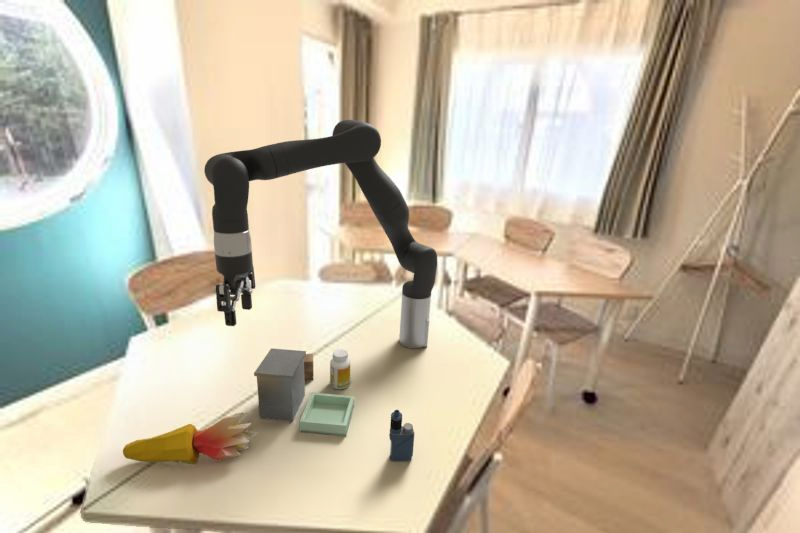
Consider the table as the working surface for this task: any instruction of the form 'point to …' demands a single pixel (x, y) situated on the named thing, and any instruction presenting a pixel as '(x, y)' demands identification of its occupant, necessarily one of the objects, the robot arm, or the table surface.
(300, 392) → the box
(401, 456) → the vaping device
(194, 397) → the table surface
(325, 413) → the tray
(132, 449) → the torch
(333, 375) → the supplement bottle
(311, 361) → the walnut block
